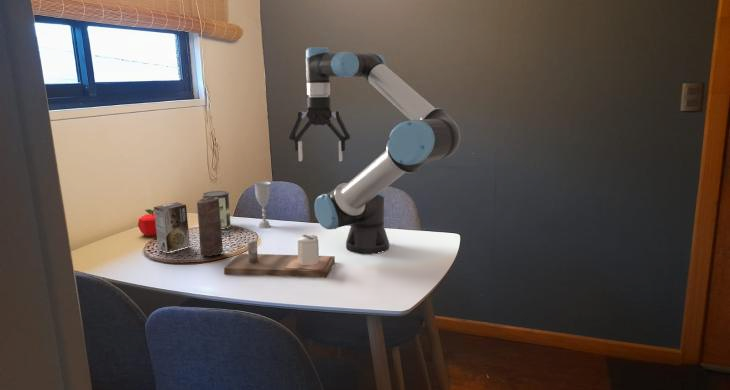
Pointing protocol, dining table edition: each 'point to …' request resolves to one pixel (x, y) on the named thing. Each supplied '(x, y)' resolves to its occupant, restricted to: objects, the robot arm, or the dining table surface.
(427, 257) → the dining table surface
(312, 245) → the white cylinder
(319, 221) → the robot arm
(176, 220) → the coffee box
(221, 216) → the coffee can
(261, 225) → the chalice
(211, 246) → the brown tall block
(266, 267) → the post board
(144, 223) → the apple
